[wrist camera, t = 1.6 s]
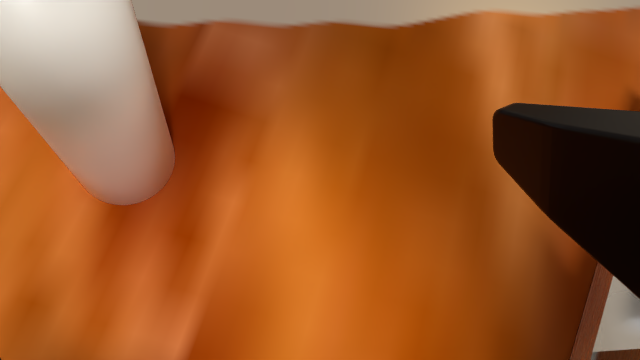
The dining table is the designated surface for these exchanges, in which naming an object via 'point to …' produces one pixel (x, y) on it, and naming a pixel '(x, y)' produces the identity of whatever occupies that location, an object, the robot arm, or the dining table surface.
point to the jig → (608, 321)
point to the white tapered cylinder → (88, 92)
